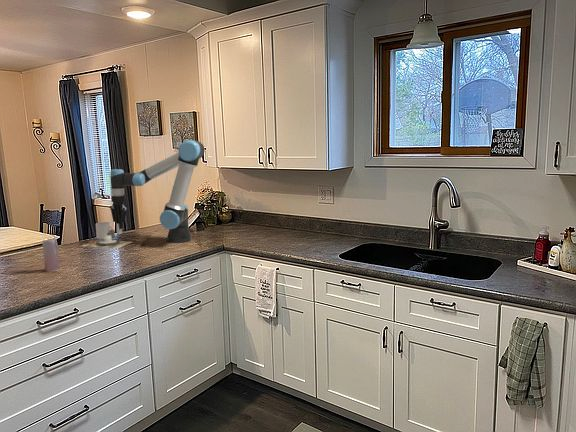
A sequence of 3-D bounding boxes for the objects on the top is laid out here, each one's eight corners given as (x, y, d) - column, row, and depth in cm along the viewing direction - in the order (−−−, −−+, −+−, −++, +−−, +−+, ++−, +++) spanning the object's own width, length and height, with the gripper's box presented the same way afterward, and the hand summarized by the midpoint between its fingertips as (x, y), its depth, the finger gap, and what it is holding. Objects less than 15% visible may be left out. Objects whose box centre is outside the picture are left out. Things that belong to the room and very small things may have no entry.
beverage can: (48, 268, 214) (45, 238, 212) (61, 268, 215) (58, 238, 212) (42, 272, 208) (39, 241, 206) (55, 271, 209) (53, 241, 206)
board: (134, 243, 268) (133, 239, 268) (118, 250, 252) (118, 245, 251) (98, 241, 273) (97, 237, 272) (80, 248, 256) (80, 243, 256)
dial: (114, 245, 257) (113, 234, 256) (96, 245, 257) (95, 234, 255) (121, 240, 272) (120, 229, 271) (105, 240, 271) (104, 229, 270)
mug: (118, 238, 283) (117, 222, 281) (110, 241, 275) (109, 225, 273) (102, 237, 286) (101, 221, 284) (93, 239, 278) (92, 224, 276)
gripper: (130, 195, 262) (132, 234, 266) (115, 193, 268) (117, 231, 272) (120, 196, 256) (122, 236, 259) (105, 195, 262) (107, 233, 265)
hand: (119, 233), depth 266 cm, fingers closed
